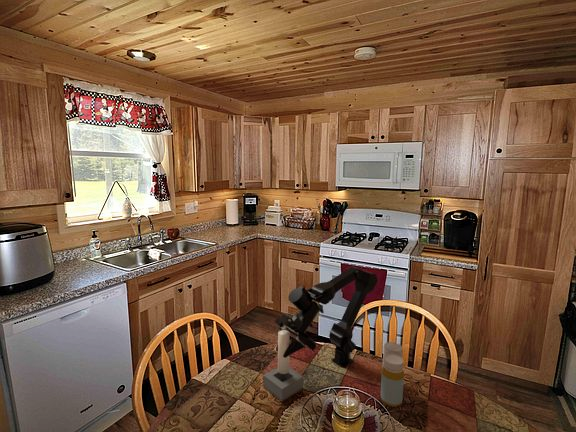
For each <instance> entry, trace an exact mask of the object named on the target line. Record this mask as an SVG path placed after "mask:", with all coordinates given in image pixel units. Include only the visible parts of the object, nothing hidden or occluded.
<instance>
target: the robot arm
mask: <svg viewBox="0 0 576 432" xmlns="http://www.w3.org/2000/svg"><path fill="white" fill-rule="evenodd" d="M378 280H379V279H378V277H377V275H376V273H373V272H370V271H368V270H364V269H361V268H359V267H356V266H353V265H352V266H349V267H348V268H347V269H346V270H345V271H343V272H341V273H339V274H338V275H336V276H335V277H333V278H332V279H331V280H328V281H324V282H323V281H322V282H319V283H317V284H314V285H313V286H312V287H311V288H308V289H306V288H305V287H304V286H302V285H299V287H296V288H294V289H293V290H291V291H290V292H289V294H288V301H289V302H290V303H291V304H292V305H294V307H295V308H297V309H298V310H299V312H294V314H290V313H285V312H282V313H281V316H279V317H277V318H276V320H275V321H274V323H275V324H276V325H277V326H278V329H279V331H281V330H287V331H289V332H290V345H289V346H288V348H287V350H286V351H285V353H284V355H283V357H284V358H286V357H288V356H289V357H290V356H291V355H294V353H296V352H298V351H301V350H302V349H306V348H308V349H309V350H310V351H312V352H314V351H315V349H316V348H317V342H316V341H314V339H313V338H311V337H310V336H309V335H307V334H306V332H307V330H308V329H309V328H312V327H313V325H314V324H312V323H313V322H314V320H315V318H316V317H317V315H318V314H319V313H321V314H324V305H327V304H329V303H331V301H332V300H333V299H334V298H335V295H336V293H337V292H339V291H340V290H342V289H343V288H345V287H346V286H348V285H349V284H350V283H353V282H354V288H355V289H354V291H353V294H352V296H351V297H350V300H349V302H348V303H347V306H346V309H345V310H344V313H343V315H342V317H341V320H340V321H339V322H337V323H335V322H334V323H333V325H332V326H331V329H330V330H329V335H328V337H329V340H330V343H331V344H332V345H334V346H335V348H334V357H333V358H331V362H333V363H335V364H337V365H338V366H340V367H342V368H346V367H347V366H349V365H351V364H352V363H354V360H353V359H352V358H351V355H352V353H353V352H354V351H355V349H356V343H355V342H353V340H352V339H353V335H354V334H353V326H354V324H355V321H356V319H357V317H358V315H359V314H360V313H359V312H360V310H361V308H362V306H363V304H364V301H365V299H366V297H367V295H368V294H370V293H371V292H372V291H373V290H374V289H375V287H376V285H377V284H378ZM291 334H292V335H293V336H294V337H293V336H291ZM275 351H276V352H277V353H278V344H277V346H276V349H275Z"/></svg>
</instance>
